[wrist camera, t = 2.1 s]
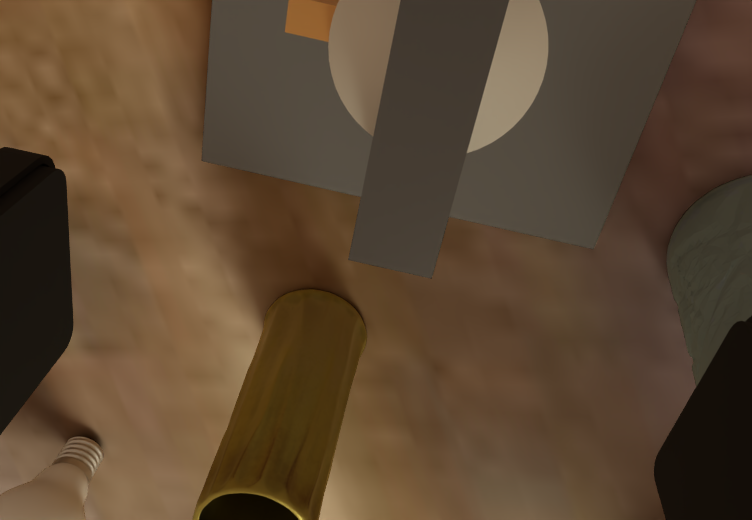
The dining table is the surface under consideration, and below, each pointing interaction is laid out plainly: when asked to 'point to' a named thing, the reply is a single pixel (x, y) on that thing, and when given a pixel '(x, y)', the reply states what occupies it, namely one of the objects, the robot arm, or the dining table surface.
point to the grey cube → (424, 103)
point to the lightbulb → (56, 486)
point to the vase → (287, 413)
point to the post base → (481, 167)
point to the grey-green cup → (712, 268)
